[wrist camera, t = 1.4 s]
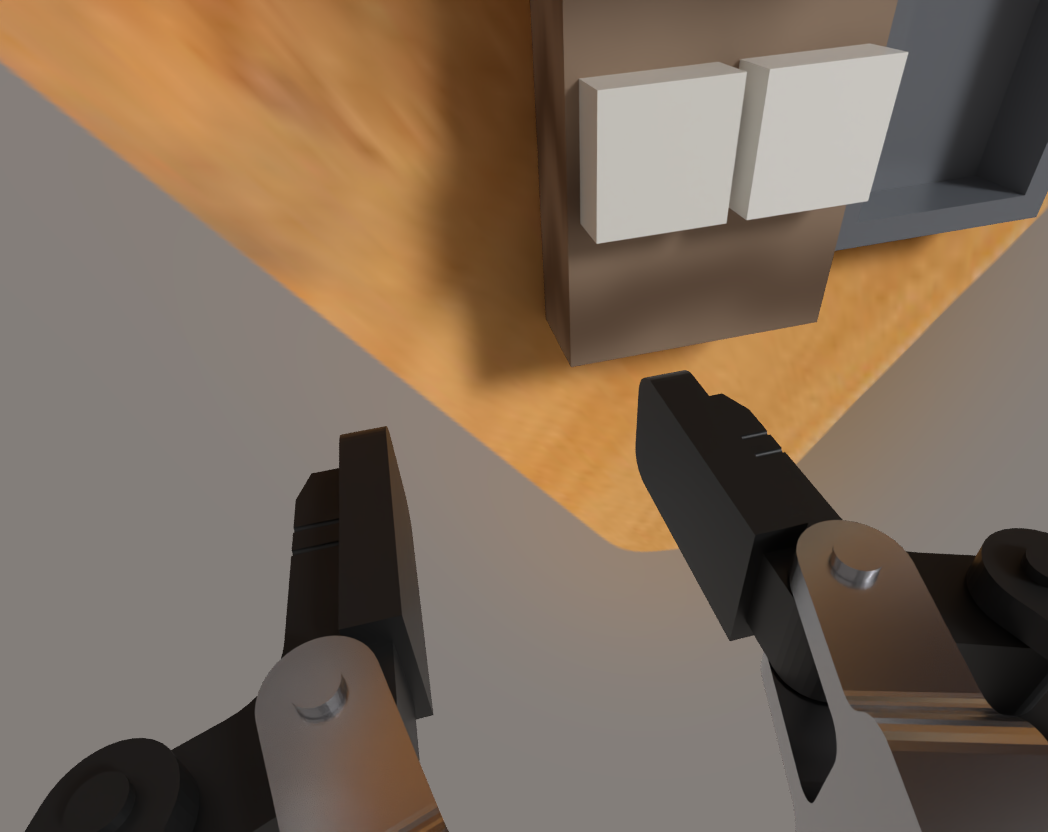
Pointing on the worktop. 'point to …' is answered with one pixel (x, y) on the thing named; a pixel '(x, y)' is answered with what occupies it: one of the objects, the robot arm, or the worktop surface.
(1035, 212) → the box
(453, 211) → the worktop surface
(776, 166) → the tile
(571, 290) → the brown wooden block
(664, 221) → the tile
